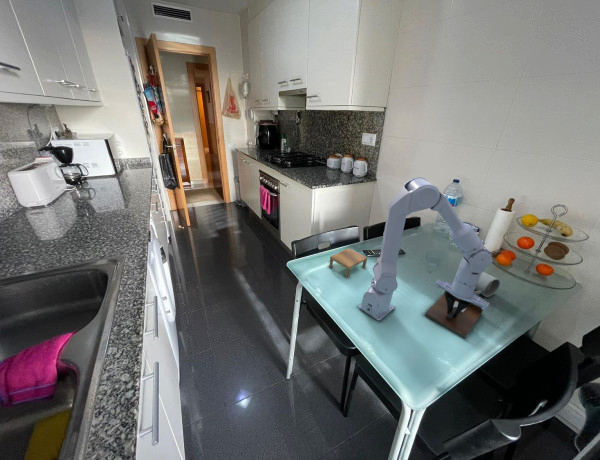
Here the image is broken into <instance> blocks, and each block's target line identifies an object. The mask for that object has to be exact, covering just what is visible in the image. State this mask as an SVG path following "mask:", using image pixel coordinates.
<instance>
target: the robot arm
mask: <svg viewBox="0 0 600 460" xmlns="http://www.w3.org/2000/svg"><path fill="white" fill-rule="evenodd" d="M387 208H388V209H387V214H386V219H385V225H384V231H383V237H382V242H381V248H380V254H379V257H377V260H376V263H375V264H374V265H373V267H372V272H373V275H374V277H373V278H372V280H371V282H370V286H369V288H368V289H367V290H366V291H365V292H364V293H363V296H362V301H361V304H360V305H358V308H359V310H361V311H363V312H364V313H366V314H367V315H369V316H370V317H372V318H373V319H375V320H376V321H378V322H379V321H381V320H382V319H384V318H385V317H386V316H387V315H389V313H391V312H392V311H393V310H394V309H395V306H393V305H392V304H391V303H392V300H393V295H394V292H395V291H397V288H398V285H399V284H398V283H399V282H398V281H397V274H398V273H397V262H398V258H399V253H400V248H401V243H402V240H403V239H402V238H403V233H404V228H405V224H406V219H407V217H408V216H409V215H411V214H413V213H415V212H421V211H423V210H428V209H430V210H431V211H434V212H438V214H439V215H440V217H441V218H442V219H443V220H444V222H445V223H446V224H447V226H448V227H449V228H450V229H449V234H448V235H449V237H450V238H451V240H452V242H454V244H455V246H456V247H457V248H458V250H459V252H460V254H461V255H462V257H461V260H460V263H459V265H458V268H457V271H456V274H455V275H454V276H455V277H454V279H453V282H452V283H450V282H447V281H443V280H441V279H437V280H436V281H435V284H434V287H435V288H437V289H438V288H439V289H441V290H443V291H445V290H446V291H448V292H447V294H446V295H445V298H446V301H447V314H449V313H450V312H451V311H452V310H453V307H454V303H455V301H456V299H457V298H459V299H461V300H460V301H459V303H458V306H457V309H456V311H455V313H454V315H453V317H454V318H456V317H457V315H458V314H459V313H460V312H461V311H462V310H463V309H465V308H467V307H468V306H469V305H470V303H472V304H475V305H477V306H479V307H481V309H482V310H483V312H486V311H487V309H488V308H489V305H490V302H488V301H486V300H485V299H483V298H482V297H480V296H479V295H475V294H474V293H473V292H475V291H476V290H475V288H476V285H477V283H478V281H479V278H480V276H481V274H482V272H485V269H486V268H488V267H489V266H490V265H492V263H493V262H494V260H493V254H492V252H491V251H490V250H489V249H488V248H487V247H486V246H485V245H486V242H485V241H484V240H483V239H481V238H480V237H479V235H478V234H477V232H478V229H477V228H476V227H475V226H474V225H471V224H470V223H465V222H462V220H461V218H460V217H459V215H458V214H457V212H456V210H455V209H454V207H453V205H452V203H451V202H450V201H449V199H448V198H447V197H446V196H445V195H444V194H443V193H442V192H441V191H440V190H439V188H438V187H437V186H436V185H434V184H432V183H430V182H429V180H427V178H425V177H422V176H416V177H413V178H412V179H409V180H408V181H406V182H404V183H403V185H402V187H401V189H400V190H399V191H398V193H397V194H396V195H395V196H394V197H393V198H392V199H391V201H390V202H389V204H388V207H387Z"/></svg>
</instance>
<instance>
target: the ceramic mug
mask: <svg viewBox="0 0 600 460" xmlns="http://www.w3.org/2000/svg"><path fill="white" fill-rule="evenodd" d="M500 284H501V281H500V279H499V278H497V277H495V276H494V275H490V274H489V273H488V272H487V273H486V272H485V271H483V272H482V274H481V276H480V278H479V281H478V283H477V285H476V288H475V290H474V292H473V293H474V294H475V295H477V296H479V295H482V296H484V297H485V298H489V297H491V296H493V295H494V294H495V293H496V292H497V291H498V290H499V287H500Z"/></svg>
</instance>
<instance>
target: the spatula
mask: <svg viewBox="0 0 600 460" xmlns="http://www.w3.org/2000/svg"><path fill="white" fill-rule="evenodd" d="M457 306H458V302H456V301H455V303H454V307H453V310H452V311H451V312H450V313H449V314H448V315H447V317H446V319H448V320H449V321H450V320H451V319H452V318H453V315H454V313H455V311H456V309H457ZM465 310H466V308H465V309H463V310H462V311H461V313H463V312H464V311H465Z"/></svg>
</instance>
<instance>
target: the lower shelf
mask: <svg viewBox="0 0 600 460" xmlns="http://www.w3.org/2000/svg"><path fill="white" fill-rule="evenodd" d="M447 292H448V291H446V290H444V292H443V294H442V295H441V296H440V297H439V298H438V299H437V300H436V302H434V304H433V305H431V306H430V308H428V310H426V312H425V313H424V316H425V317H426V318H428V319H430V320H431V321H433V322H435V323H437V324H438V325H440V326H442V327H443V328H446V329H447V330H449V331H451V332H452V333H454V334H455V335H457V336H459V337H461V338H463V339H464V340H465V339H466V337H467V336H468V335H469V333H470V331H471V330H472V329H473V328H474V325H476V323H477V321H478V320H479V318H480V317H481V315H482V313H483V312H484V310H482V309H481V307H479V306H477V305H475V304H472V303H470V305H469V306H468V307H467V308H466V310H465V311H464V312H463V313H461V312H460V313H459V314H458V315H457V317H456V318H454V317H453V318H452V319H451V320H450V321H449V320H448V319H446V317H447V315H448V314H447V301H446V298H445V295H446V294H447ZM460 300H461V299H459V298H457V299H456V302H458V303H459V301H460Z"/></svg>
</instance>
